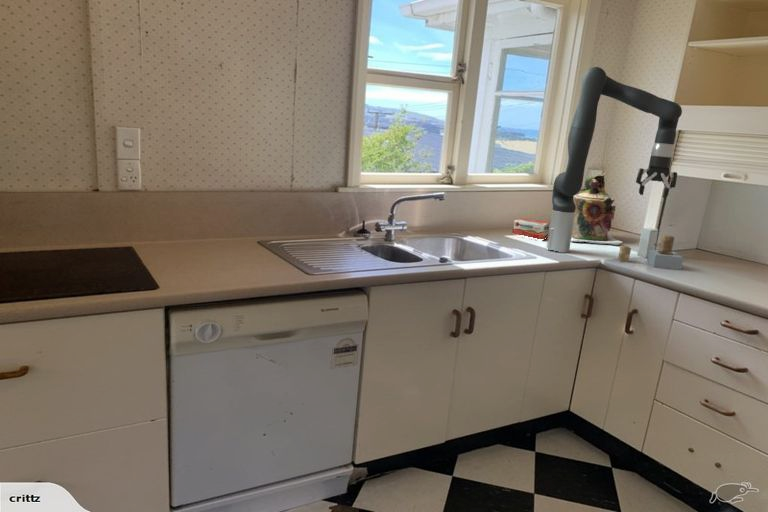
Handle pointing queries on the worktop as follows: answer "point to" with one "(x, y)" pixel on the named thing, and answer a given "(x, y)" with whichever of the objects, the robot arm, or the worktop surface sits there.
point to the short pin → (624, 253)
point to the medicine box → (531, 228)
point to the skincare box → (647, 241)
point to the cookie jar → (593, 213)
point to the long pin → (666, 245)
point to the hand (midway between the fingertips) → (652, 196)
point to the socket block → (664, 260)
